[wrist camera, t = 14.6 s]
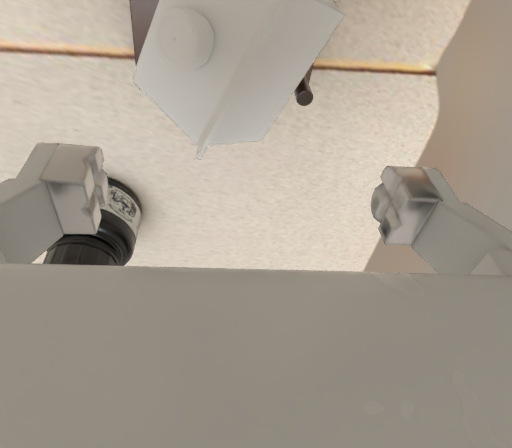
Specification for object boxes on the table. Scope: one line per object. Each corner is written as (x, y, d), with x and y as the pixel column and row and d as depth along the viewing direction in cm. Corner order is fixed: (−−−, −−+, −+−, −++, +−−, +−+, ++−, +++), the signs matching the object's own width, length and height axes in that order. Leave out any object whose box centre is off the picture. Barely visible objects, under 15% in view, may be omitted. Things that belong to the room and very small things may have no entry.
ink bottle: (159, 215, 46) (146, 299, 37) (105, 243, 49) (80, 327, 40) (98, 158, 40) (65, 244, 31) (39, 193, 42) (-6, 281, 34)
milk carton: (296, -53, 27) (371, 50, 14) (247, 40, 31) (268, 188, 18) (204, -119, 24) (183, -74, 11) (164, -8, 28) (113, 125, 15)
